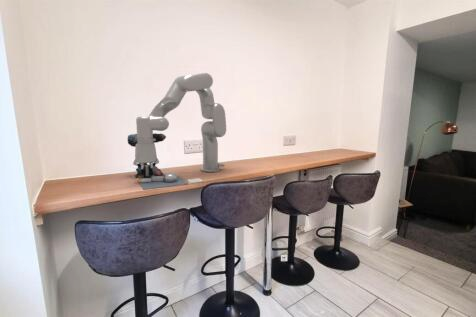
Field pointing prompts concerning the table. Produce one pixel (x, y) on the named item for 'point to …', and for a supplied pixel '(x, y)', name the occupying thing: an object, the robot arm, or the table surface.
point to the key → (147, 171)
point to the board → (162, 184)
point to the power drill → (156, 172)
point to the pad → (195, 180)
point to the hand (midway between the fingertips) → (147, 175)
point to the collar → (160, 178)
